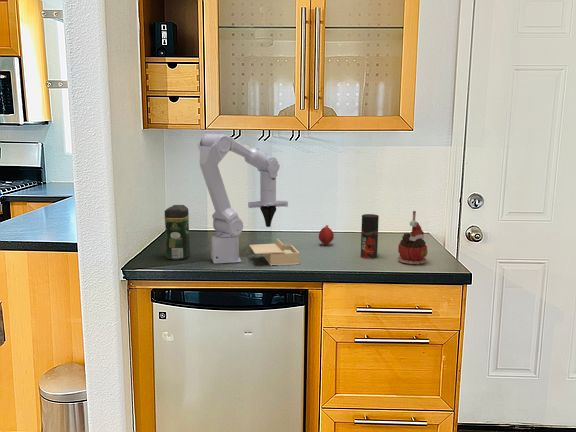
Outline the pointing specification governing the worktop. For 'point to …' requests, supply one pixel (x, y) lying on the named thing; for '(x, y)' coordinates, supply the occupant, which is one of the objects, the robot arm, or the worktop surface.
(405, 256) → the cake
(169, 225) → the coffee jar
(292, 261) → the base
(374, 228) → the deodorant
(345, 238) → the worktop surface
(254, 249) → the lid
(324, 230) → the onion
